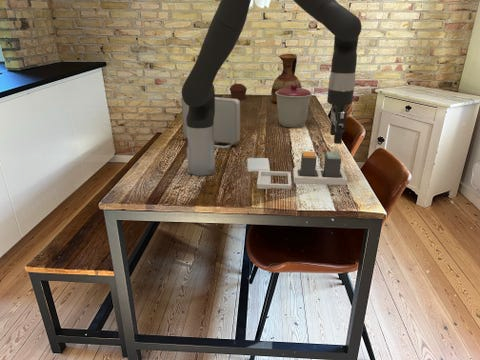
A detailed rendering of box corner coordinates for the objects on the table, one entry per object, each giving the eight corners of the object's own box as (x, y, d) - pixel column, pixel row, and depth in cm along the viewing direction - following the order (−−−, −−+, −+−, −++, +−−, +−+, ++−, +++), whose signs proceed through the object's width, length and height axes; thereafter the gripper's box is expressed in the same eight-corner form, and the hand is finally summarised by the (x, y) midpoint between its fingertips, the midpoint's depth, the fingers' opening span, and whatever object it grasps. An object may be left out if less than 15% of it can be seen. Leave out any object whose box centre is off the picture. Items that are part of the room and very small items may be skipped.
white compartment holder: (293, 185, 117) (294, 177, 116) (292, 175, 125) (293, 167, 123) (346, 188, 116) (347, 179, 114) (342, 177, 123) (343, 169, 122)
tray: (256, 190, 114) (256, 184, 114) (258, 176, 124) (258, 170, 123) (291, 191, 113) (291, 185, 113) (290, 177, 123) (290, 171, 122)
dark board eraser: (324, 181, 118) (327, 156, 114) (323, 176, 122) (325, 151, 118) (338, 182, 117) (341, 157, 113) (336, 176, 121) (339, 152, 117)
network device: (181, 142, 157) (178, 97, 149) (191, 136, 165) (188, 93, 156) (234, 149, 149) (234, 102, 140) (242, 143, 156) (242, 97, 148)
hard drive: (247, 157, 137) (247, 170, 126) (268, 158, 137) (270, 170, 126) (247, 161, 138) (247, 174, 127) (268, 162, 138) (270, 174, 127)
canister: (280, 131, 172) (282, 87, 164) (269, 121, 189) (271, 80, 180) (315, 129, 176) (319, 85, 167) (302, 119, 192) (304, 79, 183)
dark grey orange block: (300, 180, 118) (302, 155, 115) (300, 175, 122) (301, 150, 119) (314, 181, 118) (316, 156, 114) (313, 175, 122) (315, 151, 118)
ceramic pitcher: (266, 104, 224) (268, 54, 212) (276, 98, 241) (278, 51, 229) (297, 107, 217) (300, 55, 205) (304, 100, 234) (308, 52, 222)
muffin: (249, 98, 241) (249, 83, 237) (243, 101, 232) (243, 86, 228) (233, 96, 245) (232, 82, 241) (226, 100, 236) (226, 84, 232)
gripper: (325, 83, 113) (321, 132, 120) (331, 92, 101) (326, 146, 107) (349, 83, 113) (343, 132, 119) (358, 92, 100) (351, 146, 107)
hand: (335, 139), depth 113 cm, fingers open, 8 cm apart
